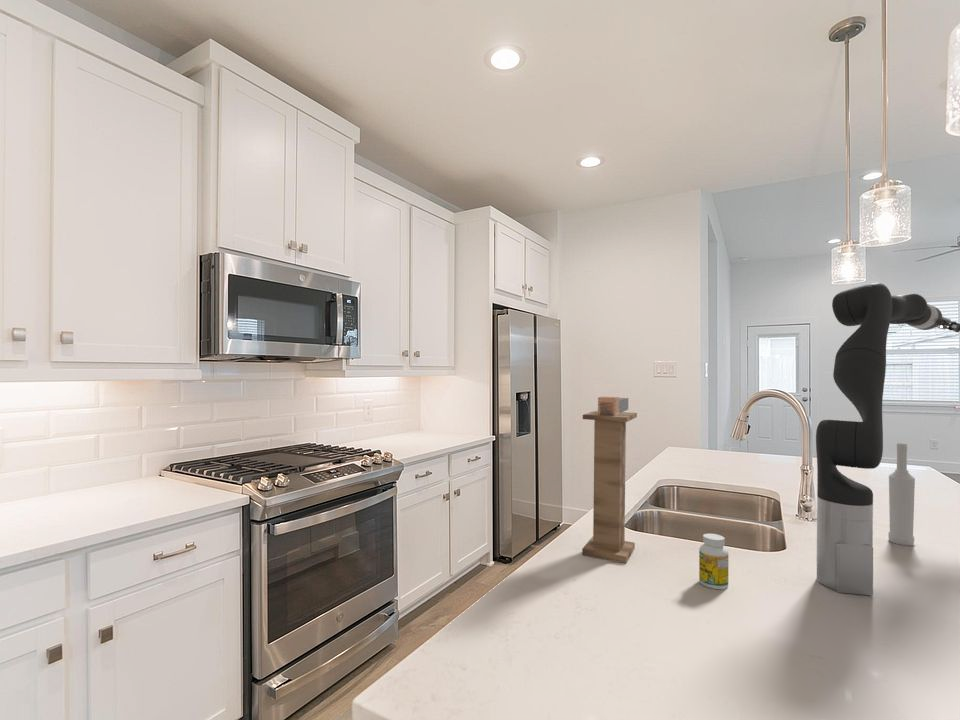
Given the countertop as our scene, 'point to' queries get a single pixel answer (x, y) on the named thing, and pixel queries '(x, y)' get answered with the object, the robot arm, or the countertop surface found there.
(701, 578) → the supplement bottle
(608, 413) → the orange and blue box
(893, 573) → the countertop surface
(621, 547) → the stand
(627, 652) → the countertop surface
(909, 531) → the bottle
